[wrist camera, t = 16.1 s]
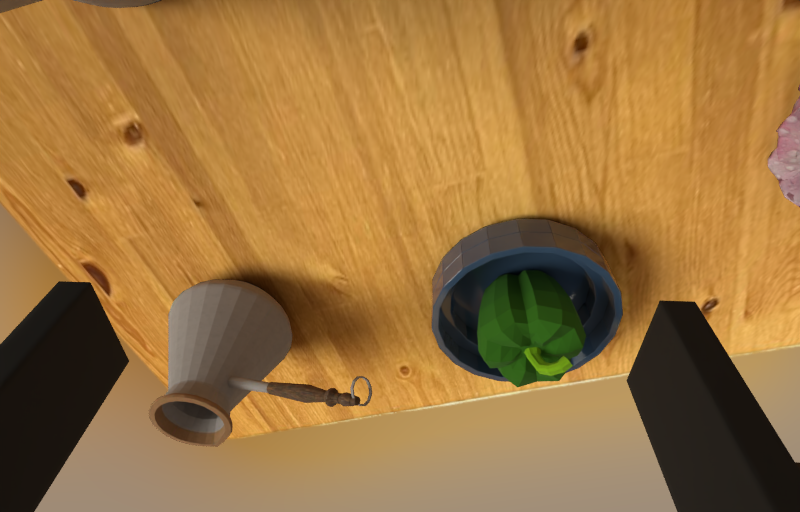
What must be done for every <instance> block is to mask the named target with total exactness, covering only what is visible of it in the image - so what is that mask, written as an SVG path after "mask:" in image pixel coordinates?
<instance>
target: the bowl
mask: <svg viewBox="0 0 800 512" xmlns="http://www.w3.org/2000/svg"><path fill="white" fill-rule="evenodd" d="M523 270H539V271H542V272H544V273H546V274H547V275H549V276H551V277H552V278H554V279H555V280H556V281H557V282H558V283H559V284H560V285H561V286H562V288H563V289H564V290H565V292H566V293H567V294H568V296H569V297H570V298H571V301H572V303H573V305H574V307H575V309H576V311H577V313H578V315H579V317H580V320H581V323H582V326H583V328H584V331H585V334H586V338H585V342H584V347H583V349H582V350H581V352H580V353H579V354H578V356H576V357H573V358H571V362H570V363H571V364H572V365H573V366H572V367H571V368H570V369H568V370H567V371H566V373H567V372H569V371H572V370H575V369H577V368H579V367H581V366H582V365H584V364H585V363H587V362H588V361H590V360H591V359H593V358H594V357H596V356H597V355H599V354H600V353H601V351H602V350H603V349H604V348H605V347H606V346H607V344H608V343H609V342H610V341H611V340H612V339H613V337H614V336H615V334H616V332H617V329H618V326H619V323H620V321H621V318H622V315H623V309H622V298H621V291H620V289H619V287H618V284H617V282H616V280H615V278H614V276H613V274H612V271H611V269H610V267H609V265H608V263H607V261H606V259H605V258H604V256H603V254H602V253H601V251H600V249H599V248H598V246H597V244H596V243H595V242H593V241H592V240H591V239H589V238H588V237H586V236H585V235H584V234H582V233H581V232H580V231H578V230H577V229H576V228H573V227H570V226H567V225H564V224H560V223H557V222H554V221H551V220H547V219H514V220H509V221H505V222H501V223H497V224H493V225H488V226H485V227H483V228H482V229H480V230H478V231H476V232H474V233H472V234H470V235H469V236H467V237H465V238H463V239H461V240H460V241H459V242H458V243H457V244H456V245H455V246H454V247H453V248H452V249H451V250H450V251H449V252H448V253H447V254H446V255H445V256H444V257H443V259H442V260H441V262H440V265H439V267H438V269H437V271H436V273H435V275H434V277H433V282H432V331H433V333H434V336H435V338H436V341H437V343H438V346H439V348H440V349H441V350H442V351H443V352H444V353H445V354H446V355H447V356H448V357H449V358H450V359H451V360H452V362H453V363H455V364H456V365H458V366H460V367H462V368H463V369H465V370H467V371H469V372H471V373H473V374H474V375H478V376H482V377H486V378H489V379H493V380H497V381H509V380H508V379H506V378H505V377H504V376H503V375H502V374H501V372H500V371H499V369H498V368H489V366H488V365H487V364H486V362H485V361H484V360H483V358H482V356H481V354H480V353H479V351H478V338H477V329H478V318H479V310H480V305H481V301H482V297H483V294H484V291H485V289H486V288H487V287H488V286H489V285H490V284H491V283H492V282H493V281H494V280H495V279H496V278H497V277H498V276H500V275H504V274H507V273H509V274H513V275H519V274H520V273H521V272H522V271H523ZM509 382H510V381H509Z"/></svg>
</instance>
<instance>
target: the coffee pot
mask: <svg viewBox="0 0 800 512" xmlns="http://www.w3.org/2000/svg"><path fill="white" fill-rule="evenodd" d="M291 343H292V331H291V326H290V322H289V318H288V316H287V315H286V313H285V311H284V310H283V308H282V307H281V305H280V304H279V303H278V302H277V301H276V300H275V299H274V298H273V297H271V296H270V295H269V294H268V293H267V292H265V291H264V290H262V289H260V288H259V287H257V286H255V285H252V284H250V283H248V282H243V281H238V280H219V279H214V280H209V281H205V282H200V283H198V284H196V285H194V286H193V287H191V288H189V289H187V290H185V291H183V292H182V293H181V294H180V295H179V296H178V297H177V298H176V299H175V300H174V302H173V303H172V306H171V309H170V312H169V376H168V392H167V393H166V394H165V395H164V396H162V397H159V398H157V399H156V400H155V401H154V402H153V403H152V404H151V406H150V409H149V417H150V420H151V422H152V424H153V425H154V426H155V427H156V428H157V429H158V430H159V431H160V432H162V433H163V434H165V435H166V436H168V437H170V438H172V439H174V440H176V441H180V442H183V443H186V444H192V445H198V446H215V447H217V446H219V445H220V444H221V443H223V442H224V441H225V440H226V439H227V438H228V437H229V435H230V434H231V432H232V421H231V418H230V411H231V410H232V409H233V408H234V407H235V406H236V405H237V404H238V403H239V402H240V401H241V400H242V399H243V398H244V397H245V396H246V395H247V394H248V393H249V392H250V391H258V392H266V393H269V394H272V395H276V396H280V397H284V398H288V399H292V400H296V401H301V402H305V403H310V402H325V403H326V404H327V405H328V406H330V407H333V406H334V405H336V404H337V403H338V404H341V405H343V406H354V405H359V406H366V405H367V404H368V403H369V402H370V399H371V396H372V389H371V385H370V382H369V380H368V379H367V378H365V377H363V376H357V377H356V378H355V379H354V380H353V382H352V385H351V394H350V393H343V394H341V393H338V391H337V390H336V389H335V388H331V389H329V390H327V391H326V390H323V389H320V388H317V387H315V386H312V385H306V384H291V383H276V382H270V383H268V382H263V381H262V380H263V379H264V378H265V377H266V376H267V375H268V374H269V373H270V372H271V371H272V370H273V369H274V368H275V367H276V366H277V365H278V364H279V363H280V362H281V361H282V360H283V359H284V358H285V356H286V355H287V353H288V351H289V350H290V348H291ZM359 378H363V379H364V380H366V382H367V384H368V387H369V396H368V400H367V401H366V402H365V403H364V404H360V398H359V397H357V396H355V395H354V390H353V388H354V385H355V382H356V381H357V380H358V379H359Z"/></svg>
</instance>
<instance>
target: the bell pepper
mask: <svg viewBox="0 0 800 512" xmlns="http://www.w3.org/2000/svg"><path fill="white" fill-rule="evenodd" d="M477 338H478V351H479V353H480V354H481V356H482V358H483V360H484V361H485V362H486V364H487V365H488V366H489V368H498V369H499V371H500V372H501V374H502V375H503V376H504V377H505V378H506V379H508V380H509V381H510V382H511V383H513V384H514V385H515V386H517V387H520V386H524V385H527V384H530V383H533V382H537V381H559V380H560V379H561V378H562V376H563V375H564V374H565V373H566V371H567V370H568V369H570V368H571V367H572V366H573V365H572V364H571V363H570V362H571V358H573V357H576V356H578V354H579V353H580V352H581V350H582V349H583V347H584V342H585V338H586V334H585V331H584V328H583V326H582V323H581V320H580V317H579V315H578V313H577V311H576V309H575V307H574V305H573V303H572V301H571V298H570V297H569V296H568V294H567V293H566V292H565V290H564V289H563V288H562V286H561V285H560V284H559V283H558V282H557V281H556V280H555V279H554V278H552V277H551V276H549V275H547V274H546V273H544V272H542V271H539V270H523V271H522V272H521V273H520V274H519V275H513V274H509V273H507V274H504V275H500V276H498V277H497V278H496V279H495V280H494V281H493V282H492V283H491V284H490V285H489V286H488V287H487V288H486V289H485V291H484V294H483V297H482V301H481V305H480V310H479V318H478V329H477Z"/></svg>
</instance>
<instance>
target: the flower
mask: <svg viewBox="0 0 800 512" xmlns="http://www.w3.org/2000/svg"><path fill="white" fill-rule="evenodd" d="M798 90H799V91H800V85H799V88H798ZM777 132H778V136H779V138H778V145H777V148H776V149H775V150H774V151H773V152H772V153H771V155H770V157H769V158H768V168H769V169H770V171H771V172H772V173H773V174H774V175H775V176H776V178H777V179H778V180H779V185H780V188H781V190H782V192H783V194H784V197H785V198H787V199H788V200H790V201H791V202H793V203H794V204H796V205H797V206H799V207H800V96H799V98H798V100H797V101H796V103H795V104H794V107H793V110H792V114H791V115H790V116H788V117H787V119H786V120H785V121H784V122H783V123H782V124H781V125H780V127H779V128H778V129H777Z"/></svg>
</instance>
